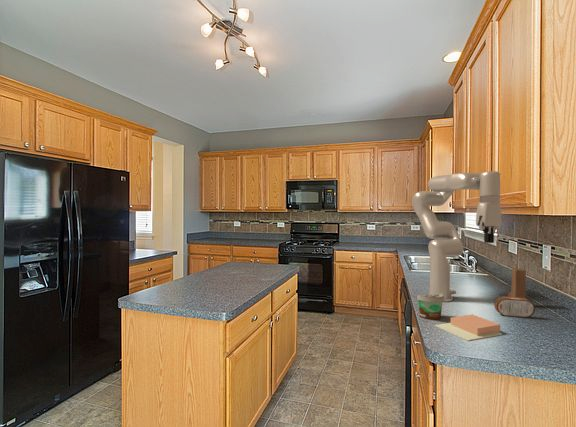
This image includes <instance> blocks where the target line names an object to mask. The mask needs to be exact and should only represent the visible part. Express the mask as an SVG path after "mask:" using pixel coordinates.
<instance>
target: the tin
mask: <svg viewBox="0 0 576 427" xmlns="http://www.w3.org/2000/svg"><path fill="white" fill-rule="evenodd" d="M493 303H494V306H493V307H494V310H495V311H496V312H497V313H499V314H500V315H502V316H504V317H513V318H524V319H525V318H531V317H532V316H533V315H534V314H535V312H536V307H535V305H534V303H533V302H532V301H531V300H530V299H528V298H526V297H525V298H518V297H507V295H506V296H505V295H503V296H499V297H498V298H497V299H495V301H494V302H493Z"/></svg>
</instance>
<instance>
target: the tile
mask: <svg viewBox="0 0 576 427" xmlns="http://www.w3.org/2000/svg"><path fill="white" fill-rule="evenodd" d="M450 323H451V325H453V326H456V327H458V328H460V329H463V330H465V331H468V332H470V333H472V334H475V335H477V336H478V335H484V334H489V333H495V332H501V324H500V323H497V322H495V321H492V320H489V319H486V318H483V317H481V316H478V315H476V314H473V313H472V314H466V315H459V316H458V315H457V316H454V317H450Z"/></svg>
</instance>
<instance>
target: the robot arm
mask: <svg viewBox="0 0 576 427" xmlns="http://www.w3.org/2000/svg"><path fill="white" fill-rule="evenodd" d="M500 175H501V173H500V172H499V171H493V170H490V171H483V172H481V173H480V172H458V173H457V172H455V173H450V174H443V175H436V176H433V177H431V178H430V179H429V180H428V182H427V186H428V188H429V190H423V191H422V190H420V191H418V192H416V193H414V194H413V196H412V200H411V203H412V209H413V211H414V212H415V214H416V216H417V217H418V219H419V222H420V224H421V227H422V229H423V232H424V234H425V236H426V237H427V238H428V239H431V240H430V242H428V244H427V246H428V253H429V255H428V256H429V269H430V270H429V272H430V273H429V292H428V293H427V294H426V295H439V293H441V294H443V296H444V301H443V302H446V303H447V302H452V301H453V300H454V299H453V298H454V297H453V296H452V295H456V294H457V291H456V290H455V289H453V290H451V265H450V262H449V260H448V259H447V258H449V257H450V258H451V257H460V256H461V255H462V254H463V253H464V244H463V241H462V239H461V237H460V236H459V233H458V231H457V229H456V227H455V226H454V224H452V223H451V222H450V221H442V220H441V221H440V220H439V219H437V218H438V217H437V216H436V214H435V212H434V211H433V210H432V209H431V208H429V207H442V206H443V205H444V204H445V203H446V202H447V201H448V200H449V199H450V197H451V196H452V195H453V194H454V192H456V191H458V190H474V191H477V190H478V191H479V200H478V201H479V202H478V204H477V207H476V208H477V209H476V216H475V225H476V226H478V229H479V230H481V231H482V232H483V242H484V243H488V244H494V242H495V238H494V237H495V234H496V230H499V229H500V226H501V225H502V207H501V208H500V206H501V180H500ZM499 204H500V205H499Z"/></svg>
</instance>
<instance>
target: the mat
mask: <svg viewBox="0 0 576 427" xmlns="http://www.w3.org/2000/svg"><path fill="white" fill-rule="evenodd" d="M434 325H435V327H437V328H438V329H441V330H443V331H445V332H447V333H449V334H451V335H454V336H456V337H459V338H460V339H463V340H464V341H466V342H470V341H476V340H482V339H487V338H491V337H496V336H497V337H498V336H502V335H503V333H501V331H499V332H495V333H489V334H484V335H478V336H477V335H475V334H472V333H470V332H468V331H465V330H463V329H460V328H458V327H456V326H453V325H451V322H447V323H442V324H441V323H439V324H434Z"/></svg>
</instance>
